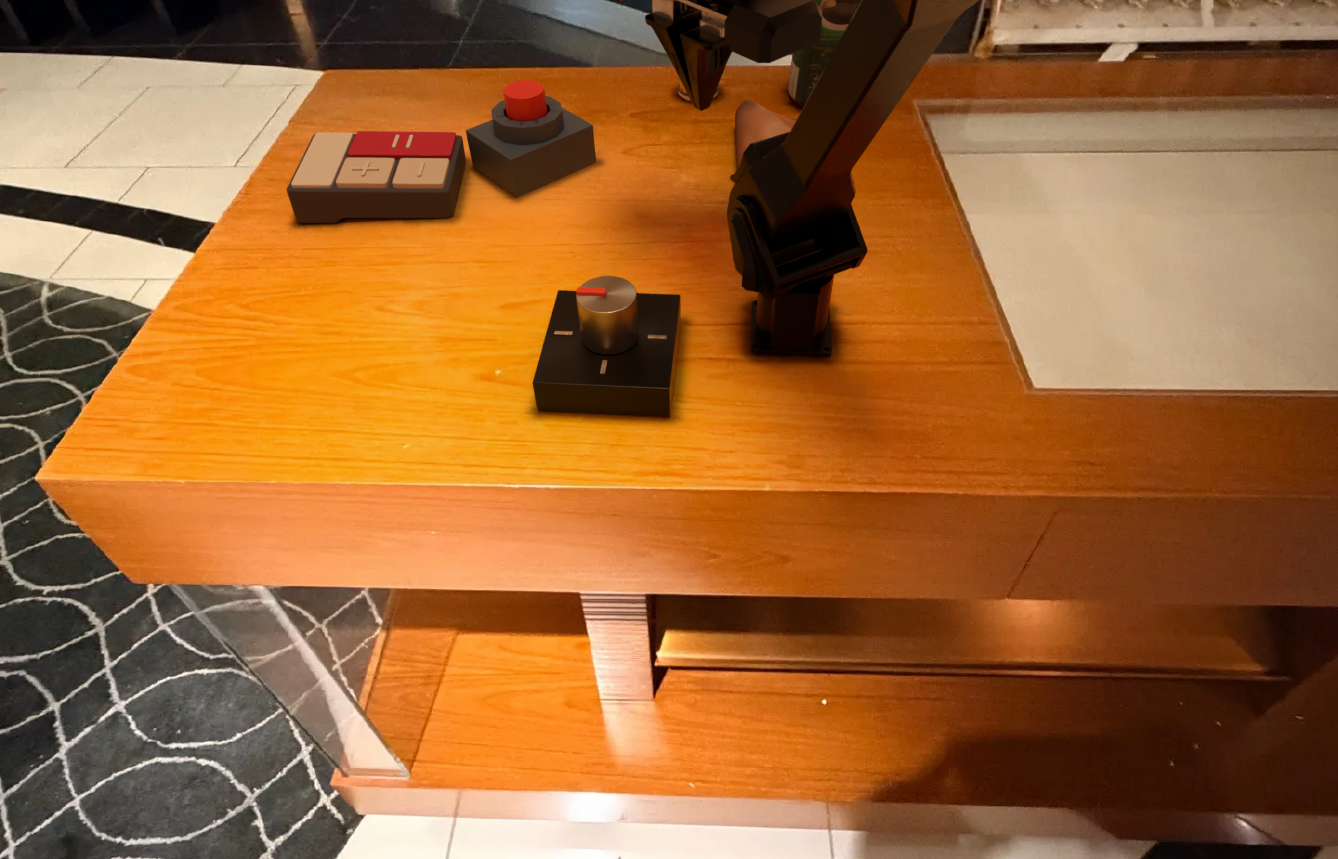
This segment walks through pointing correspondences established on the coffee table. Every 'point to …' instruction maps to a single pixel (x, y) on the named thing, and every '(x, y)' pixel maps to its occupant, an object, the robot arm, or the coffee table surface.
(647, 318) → the panel
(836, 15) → the coffee jar
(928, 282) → the coffee table surface
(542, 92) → the button
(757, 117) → the sunglasses case
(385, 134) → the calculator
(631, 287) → the stove knob
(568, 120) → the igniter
